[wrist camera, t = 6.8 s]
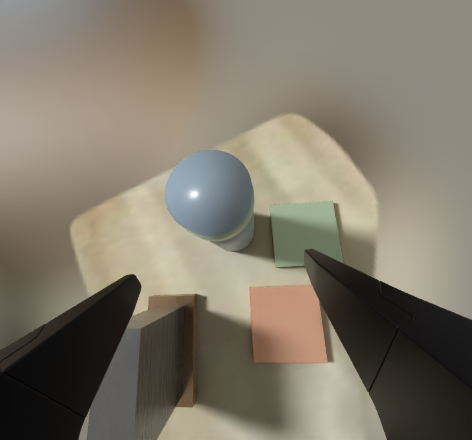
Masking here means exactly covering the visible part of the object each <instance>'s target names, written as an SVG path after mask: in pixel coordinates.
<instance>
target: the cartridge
mask: <svg viewBox="0 0 472 440" xmlns="http://www.w3.org/2000/svg"><path fill="white" fill-rule="evenodd" d="M165 200H166V205H167V208H168V210H169V212H170V214H171V216H172V217H173V218H174V220H175V221H176V222H177V223H179V224H180V225H181V226H183V228H185V229H186V230H187V231H188V232H190V233H192V234H194V235H196V236H198V237H200V238H202V239H204V240H208V241H210V242H212V243H214V244H216V245H217V246H219V247H221V248H223V249H225V250H228V251H239V250H241V249H244V248H245V247H247V246H248V245H249V244H250V242H251V241H252V239H253V237H254V232H255V227H254V191H253V186H252V183H251V178H250V175H249V173H248V171H247V169H246V167H245V166H244V165H243V163H242V162H241V161H240V160H238V159H237V158H236V157H234V156H233V155H231V154H229V153H226V152H223V151H218V150H205V151H201V152H197V153H194V154H192V155H190V156H188V157H186V158H185V159H184V160H182V161H181V162H180V163H179V164H178V165H177V166H176V167H175V168H174V170H173V171H172V173H171V174H170V176H169V178H168V181H167V184H166V189H165Z"/></svg>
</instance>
